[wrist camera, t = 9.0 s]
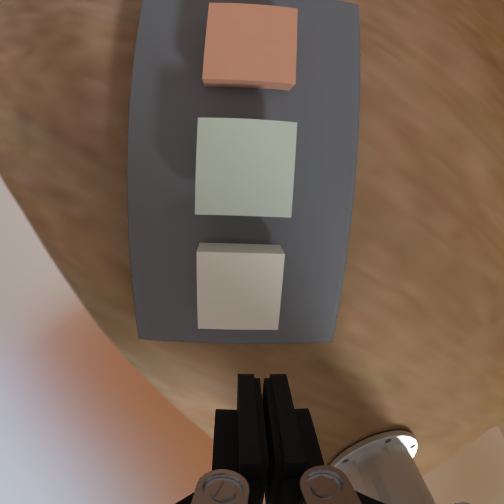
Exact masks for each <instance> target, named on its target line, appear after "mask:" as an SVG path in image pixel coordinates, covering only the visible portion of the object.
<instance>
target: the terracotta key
mask: <svg viewBox="0 0 504 504" xmlns="http://www.w3.org/2000/svg"><path fill="white" fill-rule="evenodd" d="M297 16H298V9H297V8H290V7H281V6H271V5H260V4H243V3H209V8H208V18H207V28H206V38H205V49H204V62H203V75H202V80H203V83H204V85H205V86H222V87H248V88H264V89H277V90H288V91H290V89H291V88H292V87H293V86H294V85H295V84H296V56H297Z"/></svg>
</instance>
